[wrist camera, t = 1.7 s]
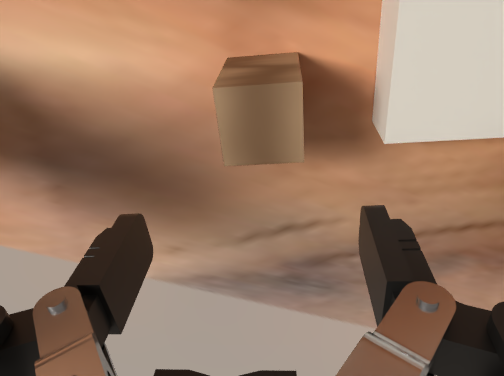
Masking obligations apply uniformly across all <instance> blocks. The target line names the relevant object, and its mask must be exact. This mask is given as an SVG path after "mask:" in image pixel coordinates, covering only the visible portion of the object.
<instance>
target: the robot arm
mask: <svg viewBox="0 0 504 376" xmlns="http://www.w3.org/2000/svg"><path fill="white" fill-rule="evenodd" d="M89 248H90V249H88V250H87V252H86V254H85V255H84V258H82V260H81V261H80V263H79V264H78V266H77V268H76V269H75V271H74V272H73V274H72V275H71V277H70V278H69V280H68V282H67V283H66V285H65V286H64V287H61V288H58V289H55V290H53V291H51V292H49V293H47V294H46V295H44V296H43V297H42V298H41V299H40V300H39V301H38V302H37V303H36V305H35V307H34V308H32V309H29V310H25V311H21V312H18V313H14V314H10V315H9V314H8V313H7V311H6V310H5V309H4V307H2V306H0V376H117V374H116V371H115V368H114V365H113V363H112V360H111V358H110V355H109V352H108V349H107V346H106V344H105V340H106V338H107V336H108V334H121V333H122V331H123V329H124V326H125V324H126V321H127V319H128V317H129V314H130V312H131V309H132V307H133V305H134V302H135V300H136V298H137V295H138V293H139V290H140V288H141V286H142V283H143V281H144V278H145V276H146V274H147V271H148V269H149V267H150V264H151V262H152V258H153V245H152V242H151V238H150V235H149V232H148V229H147V226H146V222H145V219H144V217H143V215H142V214H121V215H119V217H118V218H117V220H116V221H115V223H114V225H113V226H112V228H107V229H105V230H104V231H103V232H102V233H101V234H99V235H98V236H97V237H96V238H95V240H94V241H93V243H92V244H91V246H90V247H89ZM359 254H360V259H361V263H362V267H363V271H364V275H365V279H366V283H367V287H368V291H369V295H370V299H371V303H372V307H373V311H374V315H375V319H376V323H377V328H376V330H375V331H374V332H373V333H371V332H367V333H366V334H365V335H364V336H363V337H362V338H361V340H360V341H359V343H358V344H357V346H356V347H355V348H354V350H353V351H352V353H351V354H350V356H349V357H348V359H347V360H346V362H345V363H344V364H343V366H342V367H341V369H340V370H339V372H338V373H337V375H336V376H436V375H437V376H504V302H500V303H498V304H497V305H495V306H494V307H493V309H492V311H489V310H484V309H480V308H476V307H472V306H468V305H464V304H462V303H459V302H457V301H455V300H454V298H453V296H452V295H451V294H450V293H449V292H448V291H447V290H446V289H444V288H443V287H441V286H439V285H437V283H436V281H435V279H434V277H433V274H432V272H431V270H430V268H429V266H428V263H427V261H426V259H425V257H424V255H423V253H422V251H421V248H420V246H419V244H418V242H417V241H416V237H415V235H414V233H413V231H412V229H411V228H410V227H409V226H408V225H407V224H406V223H405V222H404V221H402V220H401V219H390V218H389V215H388V213H387V210H386V208H385V206H384V205H375V206H362V207H361V215H360V228H359ZM154 376H209V375H206V374H202V373H199V372H195V371H192V370H165V369H164V370H163V369H162V370H161V369H156V370H155V373H154ZM240 376H297V375H296V371H257V372H252V373H248V374H244V375H240Z"/></svg>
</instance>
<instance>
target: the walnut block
mask: <svg viewBox="0 0 504 376" xmlns="http://www.w3.org/2000/svg"><path fill="white" fill-rule="evenodd" d="M213 95H214V102H215V108H216V115H217V121H218V128H219V135H220V141H221V148H222V155H223V161H224V166H239V165H259V164H279V163H299V162H304V125H303V81H302V75H301V69H300V63H299V57H298V52H294V53H281V54H269V55H257V56H244V57H232V58H227V60H226V62H225V64H224V66H223V68H222V70H221V72H220V74H219V76H218V78H217V80H216V82H215V84H214V86H213Z"/></svg>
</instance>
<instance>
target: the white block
mask: <svg viewBox="0 0 504 376" xmlns="http://www.w3.org/2000/svg"><path fill="white" fill-rule="evenodd" d="M372 122H373V124H374V125H375V127H376V129H377V131H378V133H379V135H380V137H381V138H382V140H383V142H384V144H392V143H410V142H429V141H447V140H465V139H484V138H502V137H504V0H382V9H381V21H380V33H379V45H378V57H377V69H376V81H375V93H374V105H373V116H372Z"/></svg>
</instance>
